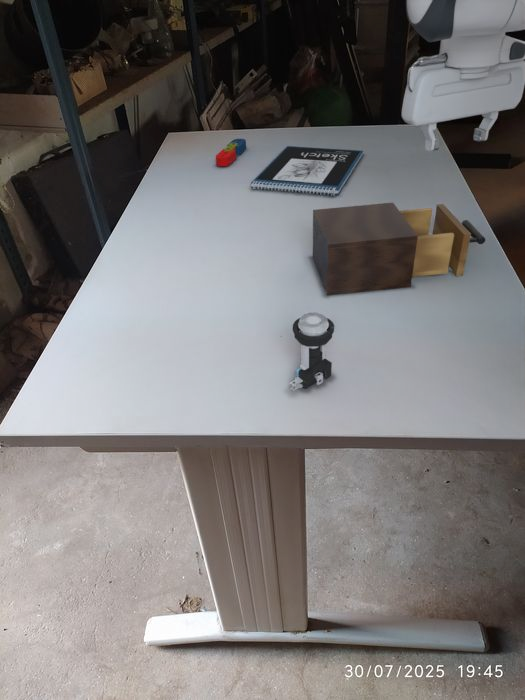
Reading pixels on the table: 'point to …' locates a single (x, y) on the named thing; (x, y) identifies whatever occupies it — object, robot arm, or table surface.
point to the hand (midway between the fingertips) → (455, 145)
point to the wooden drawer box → (363, 248)
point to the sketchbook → (309, 170)
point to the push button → (312, 349)
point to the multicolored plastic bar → (230, 152)
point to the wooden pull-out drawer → (440, 241)
